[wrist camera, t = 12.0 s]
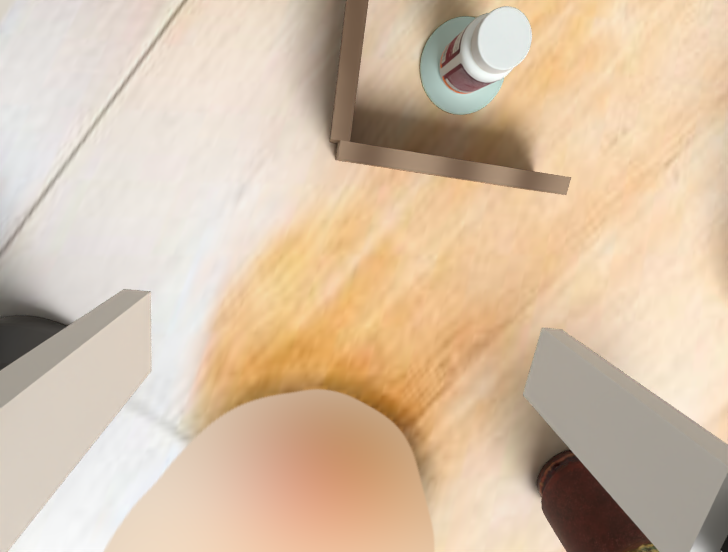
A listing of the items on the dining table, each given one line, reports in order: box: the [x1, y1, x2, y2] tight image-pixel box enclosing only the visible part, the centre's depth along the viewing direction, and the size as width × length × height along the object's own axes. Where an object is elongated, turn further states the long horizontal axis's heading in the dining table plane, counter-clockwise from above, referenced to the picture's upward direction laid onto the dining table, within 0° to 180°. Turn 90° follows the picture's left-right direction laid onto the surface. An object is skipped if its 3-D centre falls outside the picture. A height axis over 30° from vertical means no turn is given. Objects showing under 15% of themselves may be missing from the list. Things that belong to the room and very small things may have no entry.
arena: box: [330, 0, 571, 195], centre depth 33 cm, size 21×18×6 cm
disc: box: [420, 16, 504, 115], centre depth 35 cm, size 8×8×1 cm
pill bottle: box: [439, 6, 532, 94], centre depth 31 cm, size 5×5×8 cm
